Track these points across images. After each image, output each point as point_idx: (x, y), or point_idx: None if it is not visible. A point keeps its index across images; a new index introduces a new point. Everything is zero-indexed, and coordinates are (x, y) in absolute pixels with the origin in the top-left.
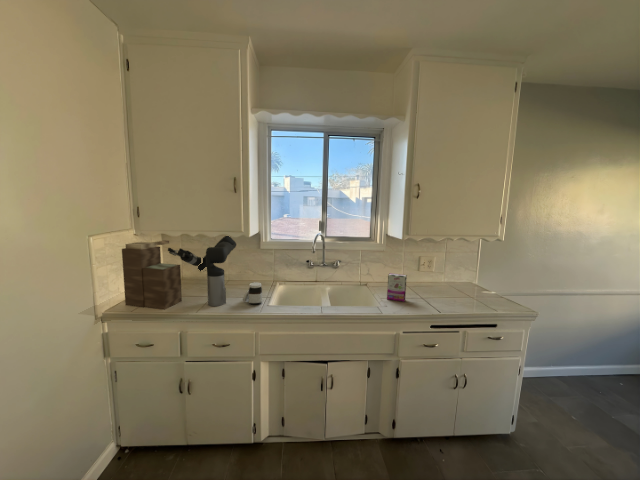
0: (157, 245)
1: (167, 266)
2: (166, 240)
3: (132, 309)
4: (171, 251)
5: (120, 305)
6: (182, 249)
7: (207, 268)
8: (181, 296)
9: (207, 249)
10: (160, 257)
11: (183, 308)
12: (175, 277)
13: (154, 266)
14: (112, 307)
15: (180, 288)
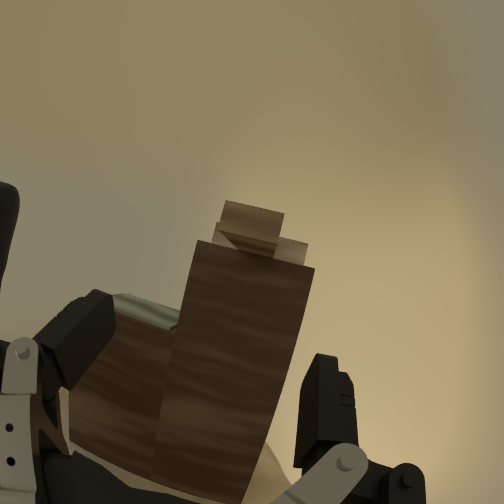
0: (235, 246)
1: (121, 299)
2: (256, 207)
3: None
4: (298, 441)
5: (260, 455)
6: (70, 314)
7: (7, 258)
8: (69, 425)
9: (18, 193)
10: (182, 302)
11: (61, 397)
12: None
13: (169, 312)
14: (268, 446)
15: (71, 396)
